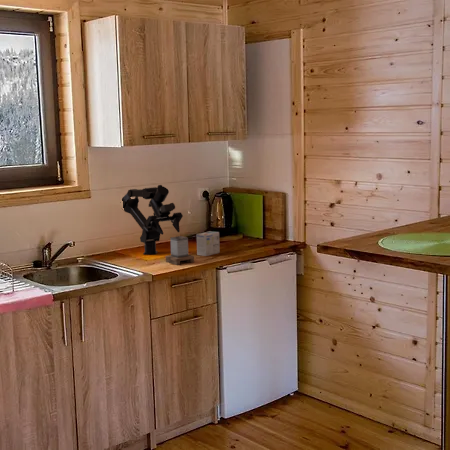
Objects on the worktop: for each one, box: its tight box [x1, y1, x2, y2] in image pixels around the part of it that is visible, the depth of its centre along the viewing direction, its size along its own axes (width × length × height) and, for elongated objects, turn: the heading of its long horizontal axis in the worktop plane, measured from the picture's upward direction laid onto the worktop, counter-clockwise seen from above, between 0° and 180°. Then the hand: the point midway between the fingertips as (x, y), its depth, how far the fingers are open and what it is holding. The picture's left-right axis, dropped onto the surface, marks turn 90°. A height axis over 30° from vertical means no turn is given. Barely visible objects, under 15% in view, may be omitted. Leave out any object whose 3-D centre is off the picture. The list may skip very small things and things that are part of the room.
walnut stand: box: [164, 254, 195, 266], centre depth 332 cm, size 10×10×3 cm
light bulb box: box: [196, 230, 221, 257], centre depth 350 cm, size 11×7×11 cm, turn 141°
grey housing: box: [170, 235, 189, 258], centre depth 331 cm, size 6×6×9 cm
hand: (171, 233), depth 336 cm, fingers open, 9 cm apart
